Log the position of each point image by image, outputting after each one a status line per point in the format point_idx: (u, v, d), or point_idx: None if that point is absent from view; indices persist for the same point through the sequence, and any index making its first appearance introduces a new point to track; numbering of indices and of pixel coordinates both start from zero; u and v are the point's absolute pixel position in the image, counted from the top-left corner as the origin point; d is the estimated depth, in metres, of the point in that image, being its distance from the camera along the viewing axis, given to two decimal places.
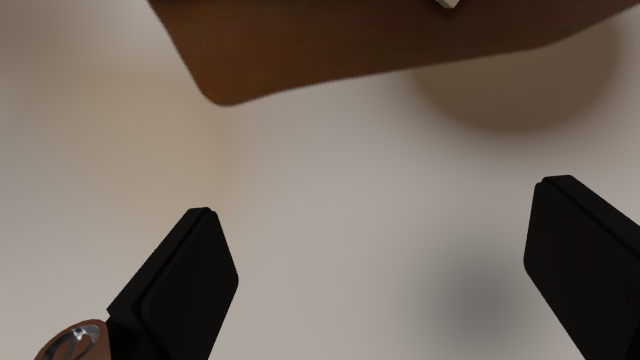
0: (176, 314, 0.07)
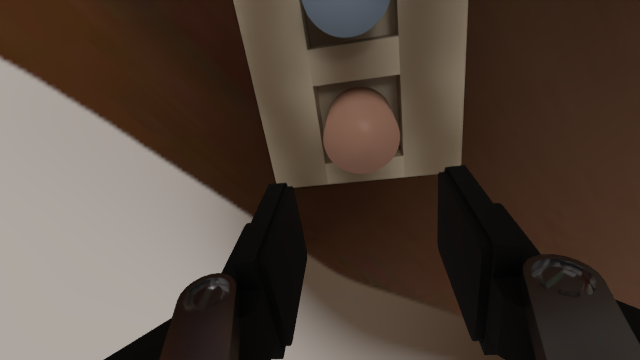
0: (279, 273, 0.08)
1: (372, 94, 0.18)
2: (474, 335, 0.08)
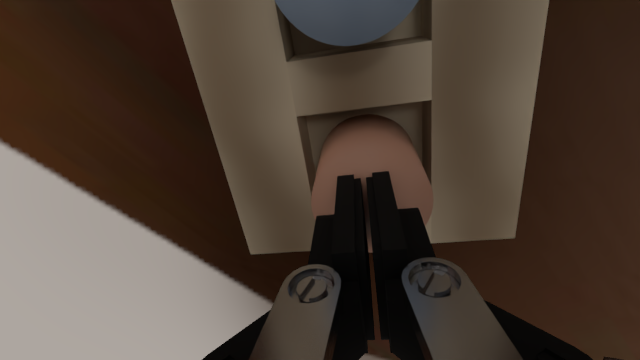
0: (367, 265, 0.08)
1: (388, 130, 0.12)
2: (381, 334, 0.08)
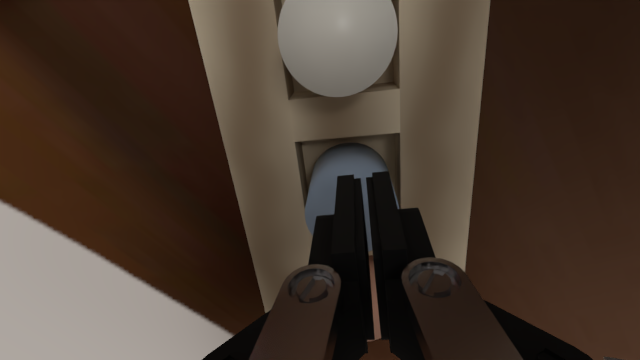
0: (367, 266, 0.08)
1: (371, 264, 0.19)
2: None
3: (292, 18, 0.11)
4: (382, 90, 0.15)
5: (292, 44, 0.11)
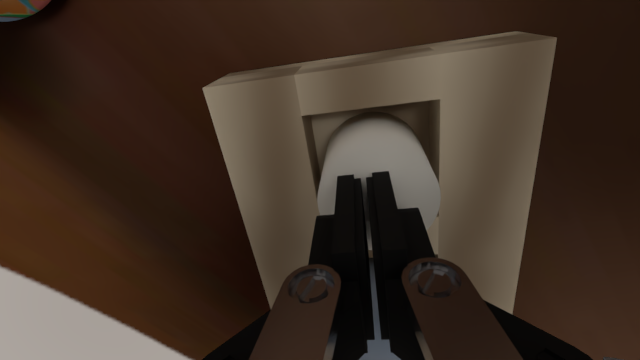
0: (367, 266, 0.08)
1: None
2: None
3: (332, 188, 0.11)
4: None
5: (331, 208, 0.11)
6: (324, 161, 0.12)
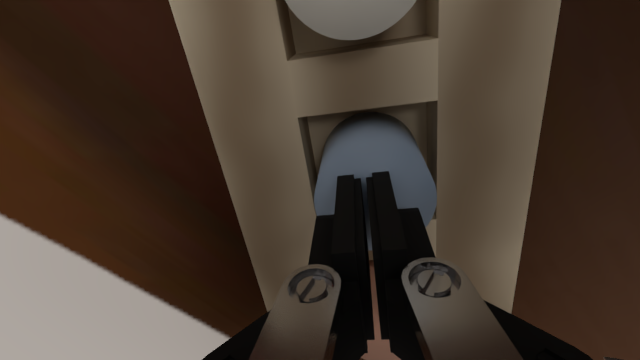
0: (367, 266, 0.08)
1: None
2: (381, 334, 0.08)
3: None
4: (414, 42, 0.11)
5: None
6: None
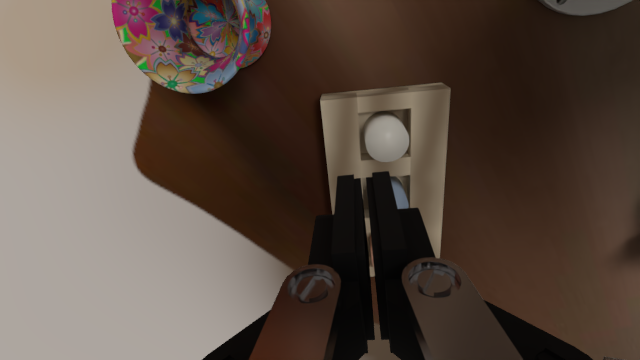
0: (367, 265, 0.08)
1: None
2: None
3: (371, 136, 0.30)
4: (402, 157, 0.33)
5: (370, 144, 0.31)
6: (365, 129, 0.32)
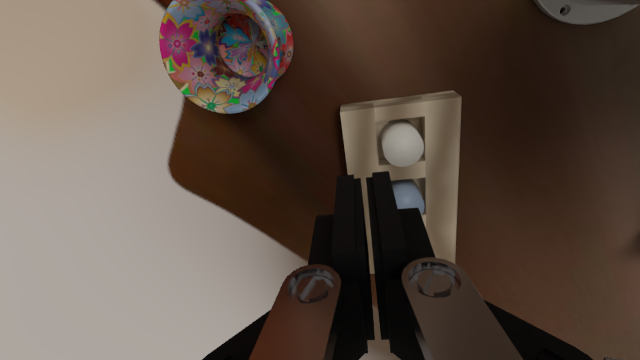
0: (367, 265, 0.08)
1: None
2: None
3: (388, 143, 0.33)
4: (418, 161, 0.36)
5: (388, 151, 0.33)
6: (382, 136, 0.35)
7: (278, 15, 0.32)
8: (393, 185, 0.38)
